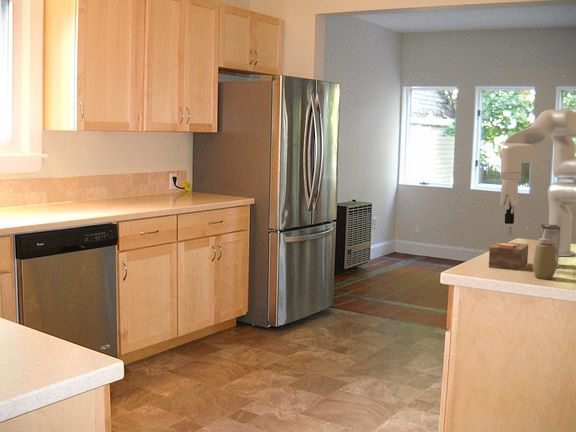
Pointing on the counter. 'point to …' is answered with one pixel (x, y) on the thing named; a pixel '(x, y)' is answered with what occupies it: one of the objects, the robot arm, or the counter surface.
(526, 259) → the plug console
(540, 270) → the squeeze bottle
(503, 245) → the terracotta plug
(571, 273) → the counter surface
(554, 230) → the coffee box
